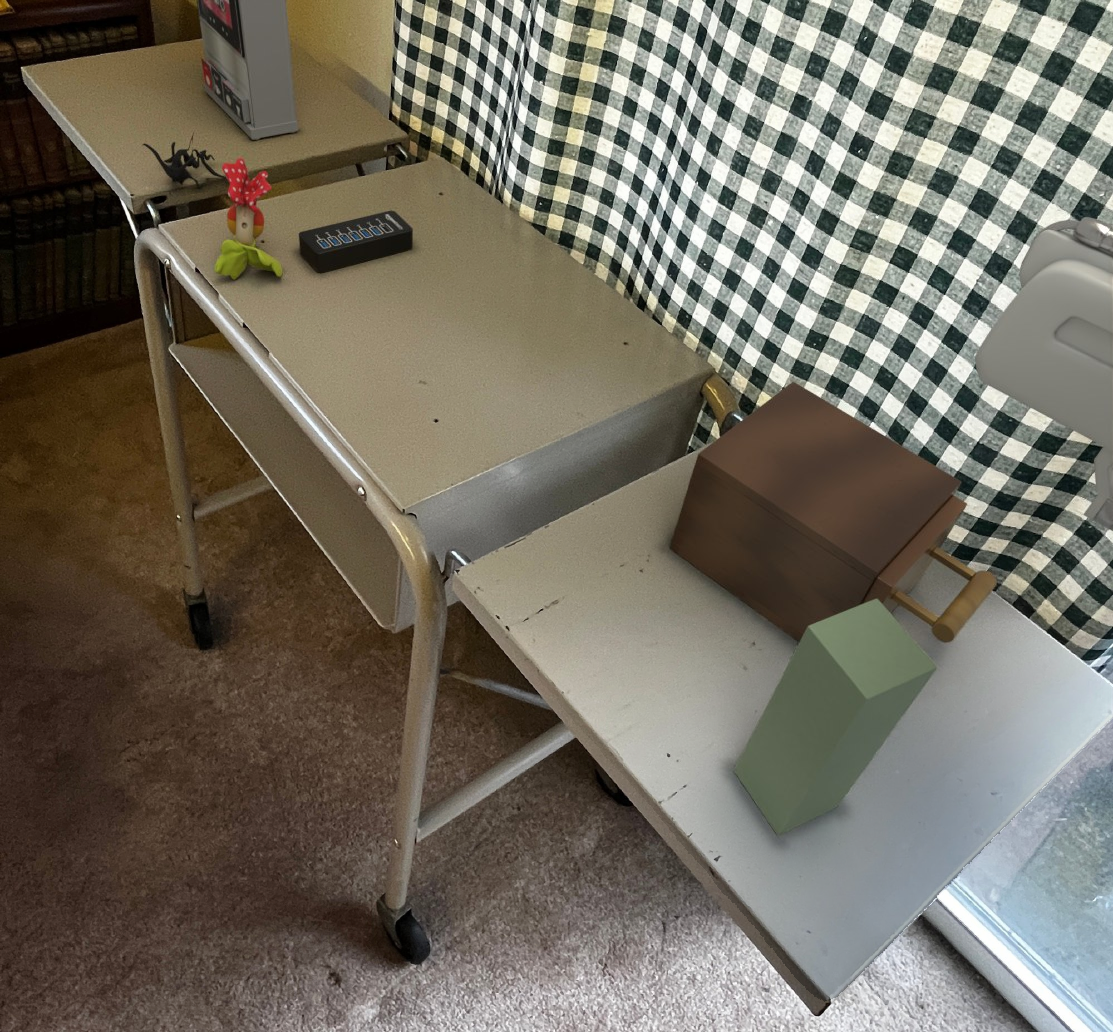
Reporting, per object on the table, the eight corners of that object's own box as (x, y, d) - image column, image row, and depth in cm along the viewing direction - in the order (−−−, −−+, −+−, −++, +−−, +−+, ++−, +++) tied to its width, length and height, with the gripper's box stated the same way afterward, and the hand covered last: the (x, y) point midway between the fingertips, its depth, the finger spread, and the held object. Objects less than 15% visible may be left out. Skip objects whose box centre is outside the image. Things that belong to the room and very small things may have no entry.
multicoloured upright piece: (215, 271, 97) (216, 287, 89) (198, 155, 93) (197, 161, 85) (278, 268, 99) (285, 283, 91) (265, 154, 95) (270, 159, 87)
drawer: (977, 612, 74) (1029, 540, 67) (907, 701, 67) (958, 631, 61) (780, 484, 81) (811, 408, 75) (700, 553, 74) (726, 477, 68)
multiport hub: (298, 252, 98) (296, 232, 96) (393, 228, 103) (393, 209, 101) (318, 274, 96) (316, 253, 94) (414, 249, 101) (414, 229, 99)
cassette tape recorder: (203, 93, 119) (167, -143, 101) (250, 85, 122) (222, -146, 104) (250, 142, 112) (220, -103, 94) (298, 133, 115) (278, -106, 97)
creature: (180, 166, 109) (137, 181, 102) (178, 117, 106) (133, 129, 99) (243, 183, 108) (203, 200, 101) (243, 134, 105) (202, 148, 98)
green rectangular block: (838, 806, 62) (938, 666, 50) (777, 836, 60) (867, 699, 48) (792, 743, 65) (877, 597, 53) (732, 770, 63) (807, 625, 51)
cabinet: (908, 571, 77) (962, 481, 70) (826, 662, 70) (877, 572, 62) (758, 473, 83) (793, 381, 75) (668, 548, 76) (697, 453, 68)
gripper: (1027, 221, 43) (911, 449, 53) (1554, 456, 35) (1299, 675, 44) (1078, 183, 47) (960, 403, 56) (1566, 387, 38) (1328, 604, 48)
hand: (1112, 524), depth 50 cm, fingers closed
